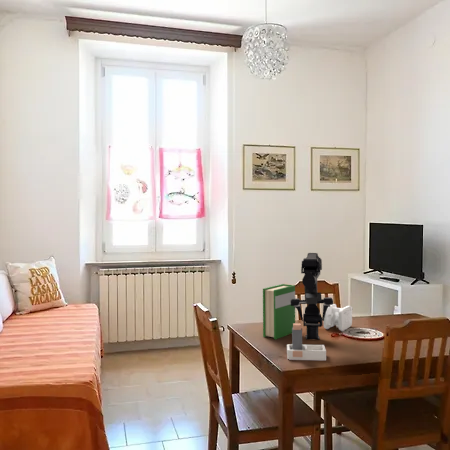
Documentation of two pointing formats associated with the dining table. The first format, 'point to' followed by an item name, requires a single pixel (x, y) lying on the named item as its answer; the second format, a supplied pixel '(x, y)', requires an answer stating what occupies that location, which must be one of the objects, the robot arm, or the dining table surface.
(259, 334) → the dining table surface
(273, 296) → the hardback book
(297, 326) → the gray rectangular block
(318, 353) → the socket strip
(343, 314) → the cable organizer
